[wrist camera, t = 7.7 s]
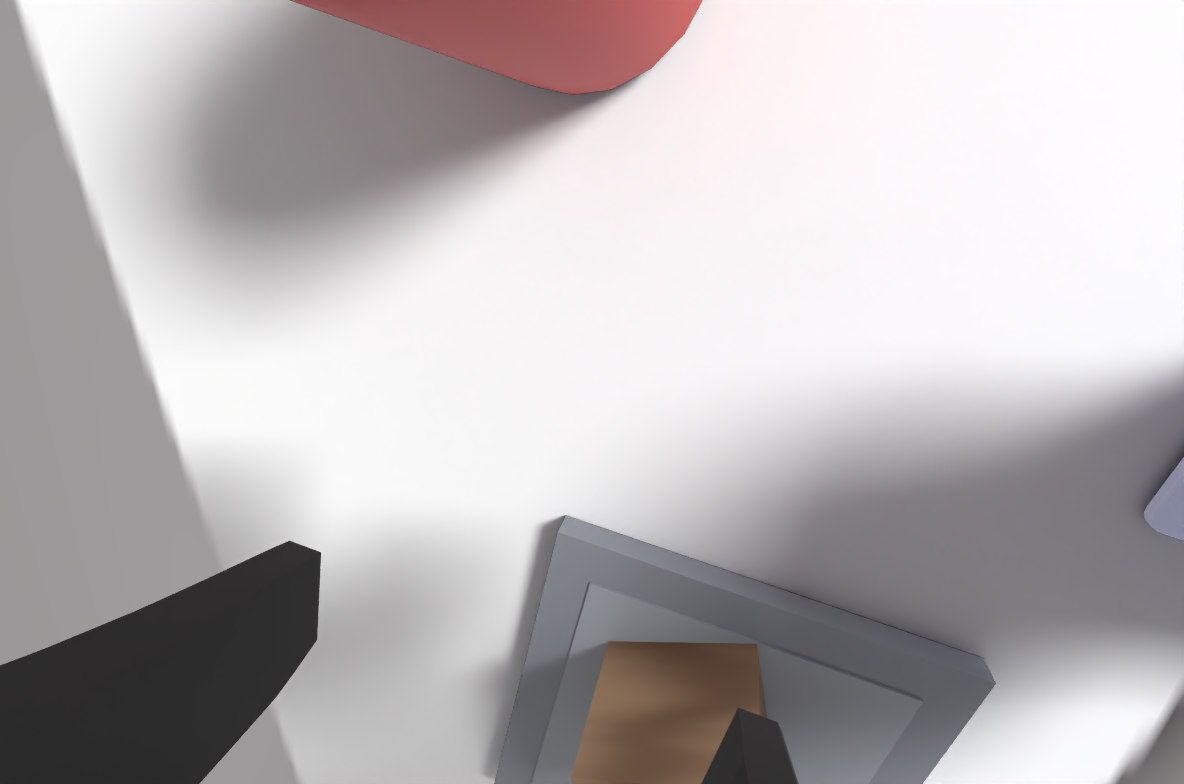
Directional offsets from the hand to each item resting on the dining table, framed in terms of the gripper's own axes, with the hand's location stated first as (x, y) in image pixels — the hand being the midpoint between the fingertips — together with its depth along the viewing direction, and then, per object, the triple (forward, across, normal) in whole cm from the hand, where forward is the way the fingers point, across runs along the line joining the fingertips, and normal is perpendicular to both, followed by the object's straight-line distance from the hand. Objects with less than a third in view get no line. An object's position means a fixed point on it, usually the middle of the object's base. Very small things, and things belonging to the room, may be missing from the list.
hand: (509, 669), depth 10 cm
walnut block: (+9, -5, +9) cm, 13 cm away
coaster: (+10, -6, +11) cm, 16 cm away
